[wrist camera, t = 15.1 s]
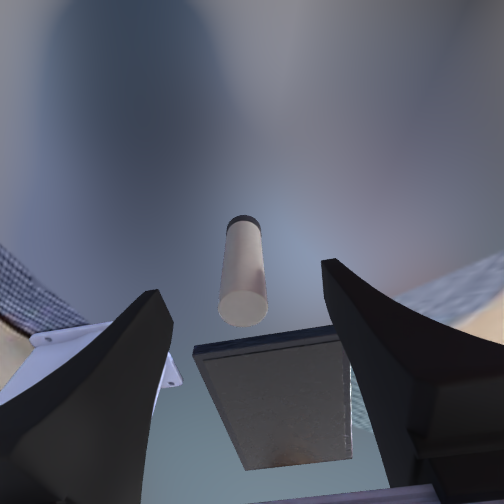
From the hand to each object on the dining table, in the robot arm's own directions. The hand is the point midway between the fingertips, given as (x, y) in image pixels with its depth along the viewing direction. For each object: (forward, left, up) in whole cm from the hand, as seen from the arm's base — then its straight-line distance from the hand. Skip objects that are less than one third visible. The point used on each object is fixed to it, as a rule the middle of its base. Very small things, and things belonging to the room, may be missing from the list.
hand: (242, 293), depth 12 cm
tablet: (0, -19, -6) cm, 20 cm away
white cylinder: (0, 0, -6) cm, 6 cm away
